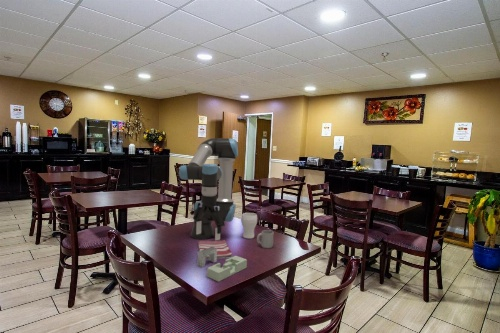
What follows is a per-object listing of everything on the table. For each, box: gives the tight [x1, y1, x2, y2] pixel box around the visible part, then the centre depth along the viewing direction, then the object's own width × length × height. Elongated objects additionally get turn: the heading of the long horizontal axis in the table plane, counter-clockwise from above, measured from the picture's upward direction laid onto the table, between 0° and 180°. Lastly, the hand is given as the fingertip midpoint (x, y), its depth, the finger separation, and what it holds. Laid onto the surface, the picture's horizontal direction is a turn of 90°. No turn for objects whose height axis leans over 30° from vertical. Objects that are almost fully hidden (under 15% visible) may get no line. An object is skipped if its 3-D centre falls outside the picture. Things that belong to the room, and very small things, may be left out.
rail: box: [206, 255, 248, 282], centre depth 134 cm, size 20×7×4 cm, turn 142°
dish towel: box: [197, 239, 233, 260], centre depth 161 cm, size 17×23×3 cm
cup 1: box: [240, 212, 258, 239], centre depth 187 cm, size 11×11×15 cm
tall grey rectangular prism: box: [196, 247, 218, 268], centre depth 143 cm, size 10×4×7 cm, turn 142°
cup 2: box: [256, 229, 275, 249], centre depth 171 cm, size 7×10×9 cm
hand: (207, 236), depth 142 cm, fingers open, 13 cm apart
